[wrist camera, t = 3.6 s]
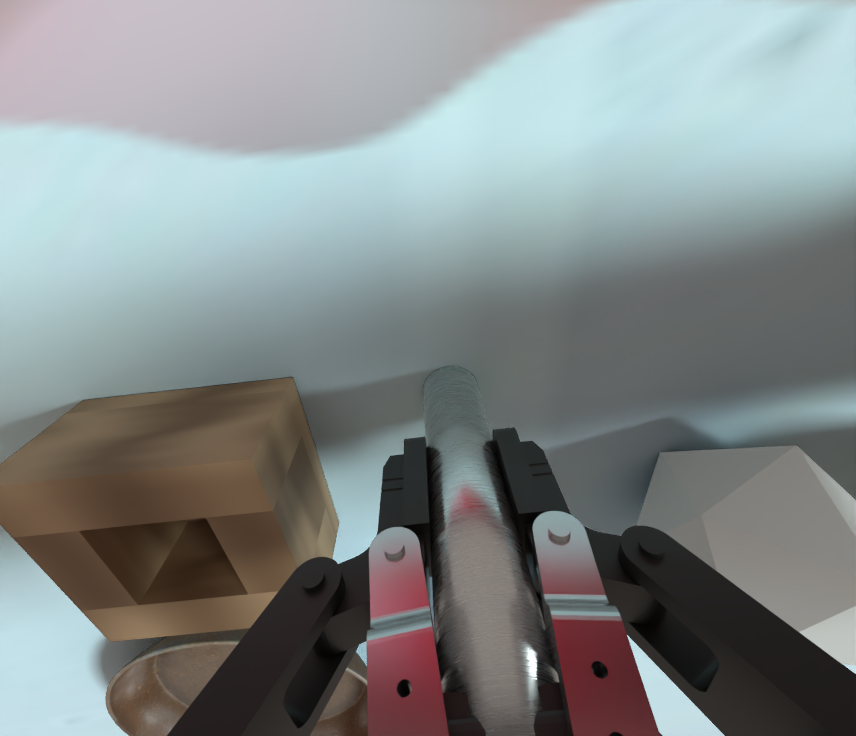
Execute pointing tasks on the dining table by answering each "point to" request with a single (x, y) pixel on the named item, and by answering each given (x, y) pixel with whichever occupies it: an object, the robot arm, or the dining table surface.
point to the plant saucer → (190, 672)
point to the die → (766, 532)
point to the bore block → (172, 506)
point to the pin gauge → (479, 566)
